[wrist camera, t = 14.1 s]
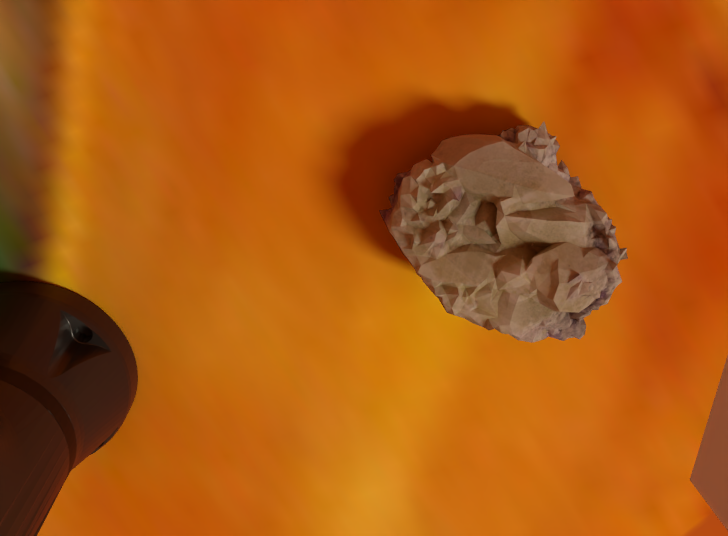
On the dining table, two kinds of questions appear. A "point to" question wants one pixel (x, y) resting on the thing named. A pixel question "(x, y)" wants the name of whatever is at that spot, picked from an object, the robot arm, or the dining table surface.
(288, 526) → the dining table surface
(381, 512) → the dining table surface
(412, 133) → the dining table surface
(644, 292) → the dining table surface
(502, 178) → the geode
